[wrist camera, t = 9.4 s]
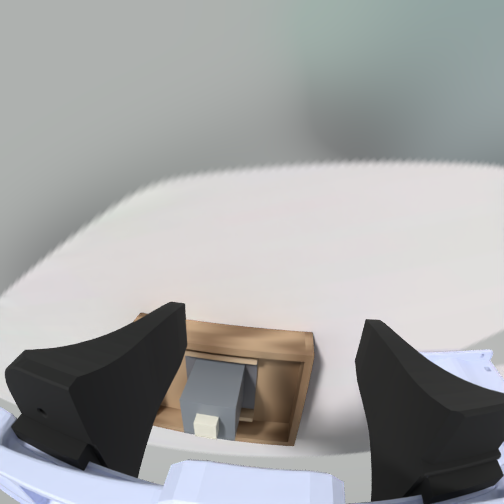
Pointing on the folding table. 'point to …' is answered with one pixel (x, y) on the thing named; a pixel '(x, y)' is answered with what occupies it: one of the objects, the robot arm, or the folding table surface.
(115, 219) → the folding table surface
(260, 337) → the caddy
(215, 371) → the plug
